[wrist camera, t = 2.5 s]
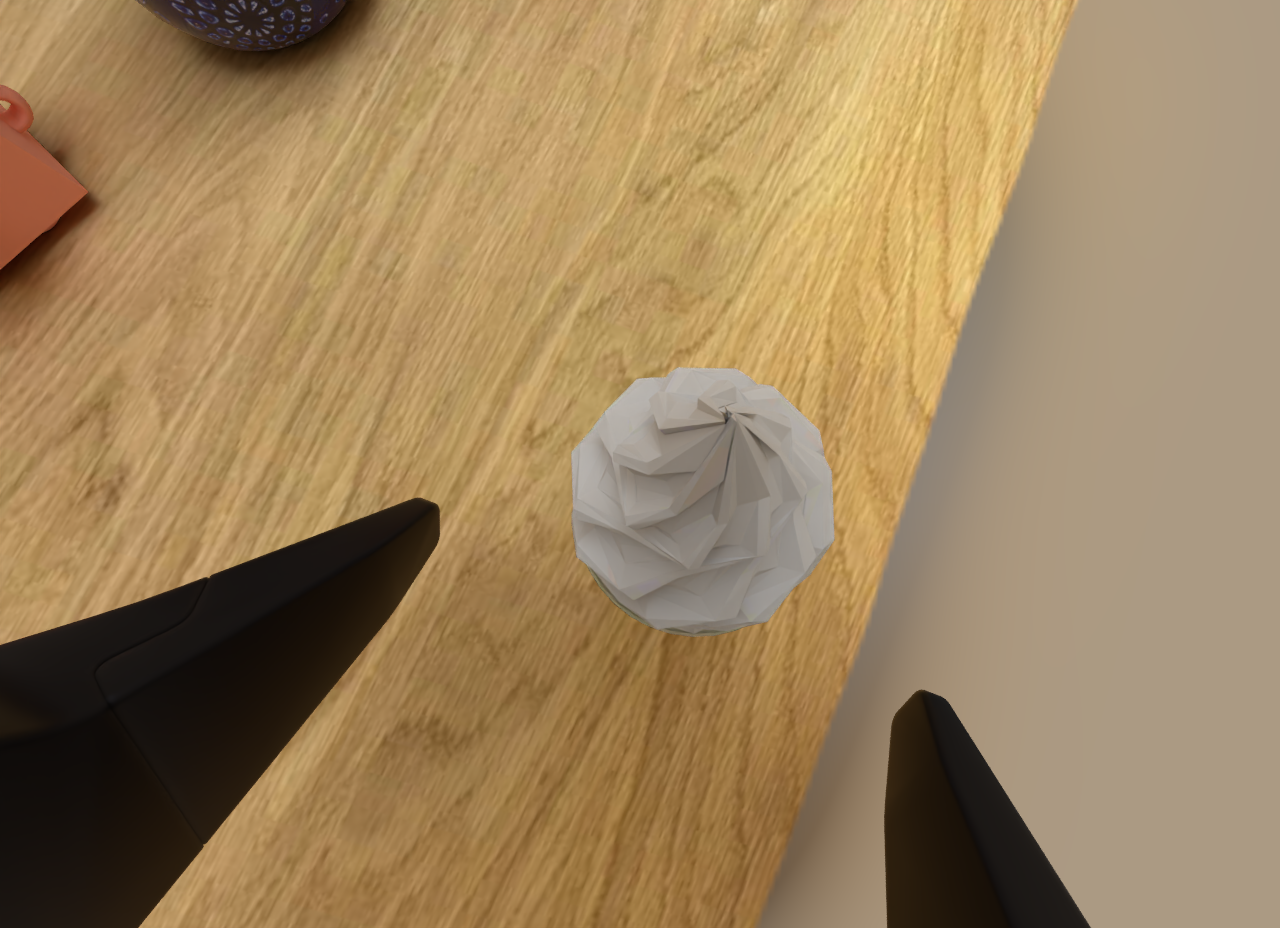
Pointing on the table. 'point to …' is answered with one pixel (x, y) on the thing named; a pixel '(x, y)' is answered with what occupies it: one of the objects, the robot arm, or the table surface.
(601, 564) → the ice cream cone
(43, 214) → the teapot
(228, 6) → the planter
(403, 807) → the table surface
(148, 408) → the table surface
